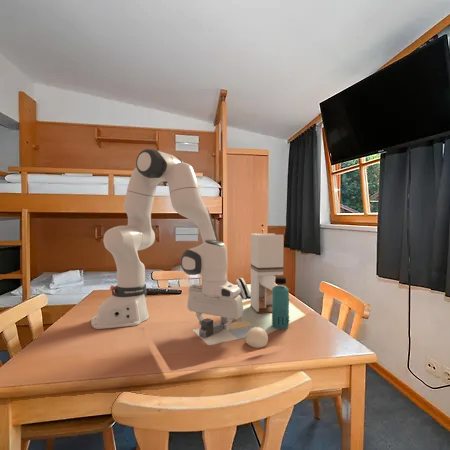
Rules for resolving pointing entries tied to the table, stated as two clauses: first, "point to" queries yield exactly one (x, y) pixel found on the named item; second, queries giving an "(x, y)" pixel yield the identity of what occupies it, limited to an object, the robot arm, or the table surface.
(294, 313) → the table surface
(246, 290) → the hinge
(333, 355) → the table surface
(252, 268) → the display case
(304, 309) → the table surface
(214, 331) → the latch bar
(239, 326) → the door board
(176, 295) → the table surface
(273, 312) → the beverage bottle
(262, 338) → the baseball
